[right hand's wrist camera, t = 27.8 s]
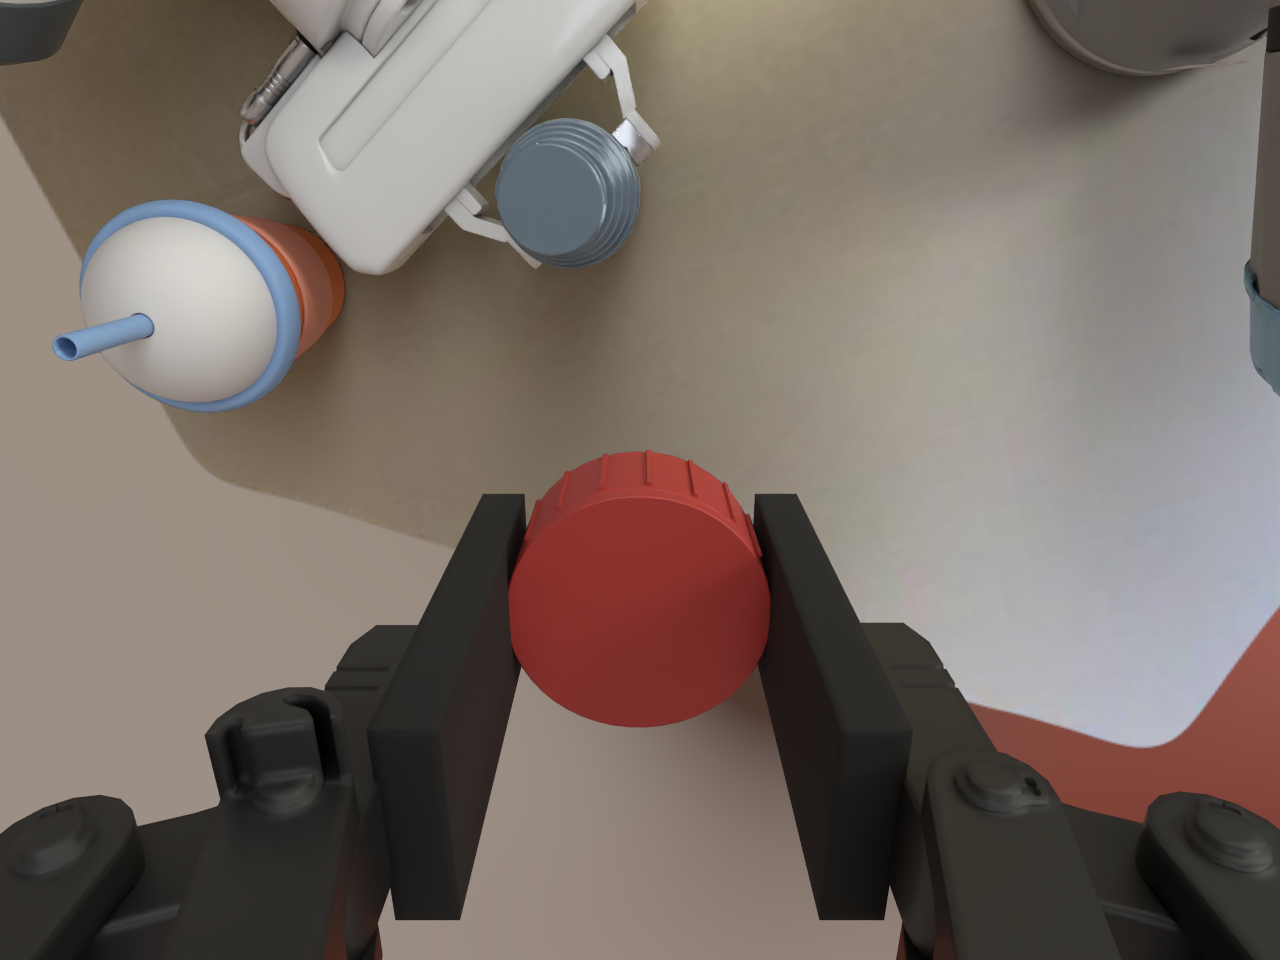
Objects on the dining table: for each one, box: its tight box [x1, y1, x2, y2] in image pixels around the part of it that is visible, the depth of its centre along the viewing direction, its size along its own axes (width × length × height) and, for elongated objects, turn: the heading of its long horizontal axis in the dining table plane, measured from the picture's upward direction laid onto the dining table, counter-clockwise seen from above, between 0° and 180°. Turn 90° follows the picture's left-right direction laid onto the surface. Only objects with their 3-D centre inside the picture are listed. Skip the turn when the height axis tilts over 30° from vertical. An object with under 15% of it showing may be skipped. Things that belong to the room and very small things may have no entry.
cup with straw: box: [52, 199, 345, 412], centre depth 35 cm, size 9×9×18 cm
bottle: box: [494, 118, 642, 269], centre depth 32 cm, size 5×5×20 cm
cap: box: [508, 450, 771, 727], centre depth 14 cm, size 4×4×2 cm
